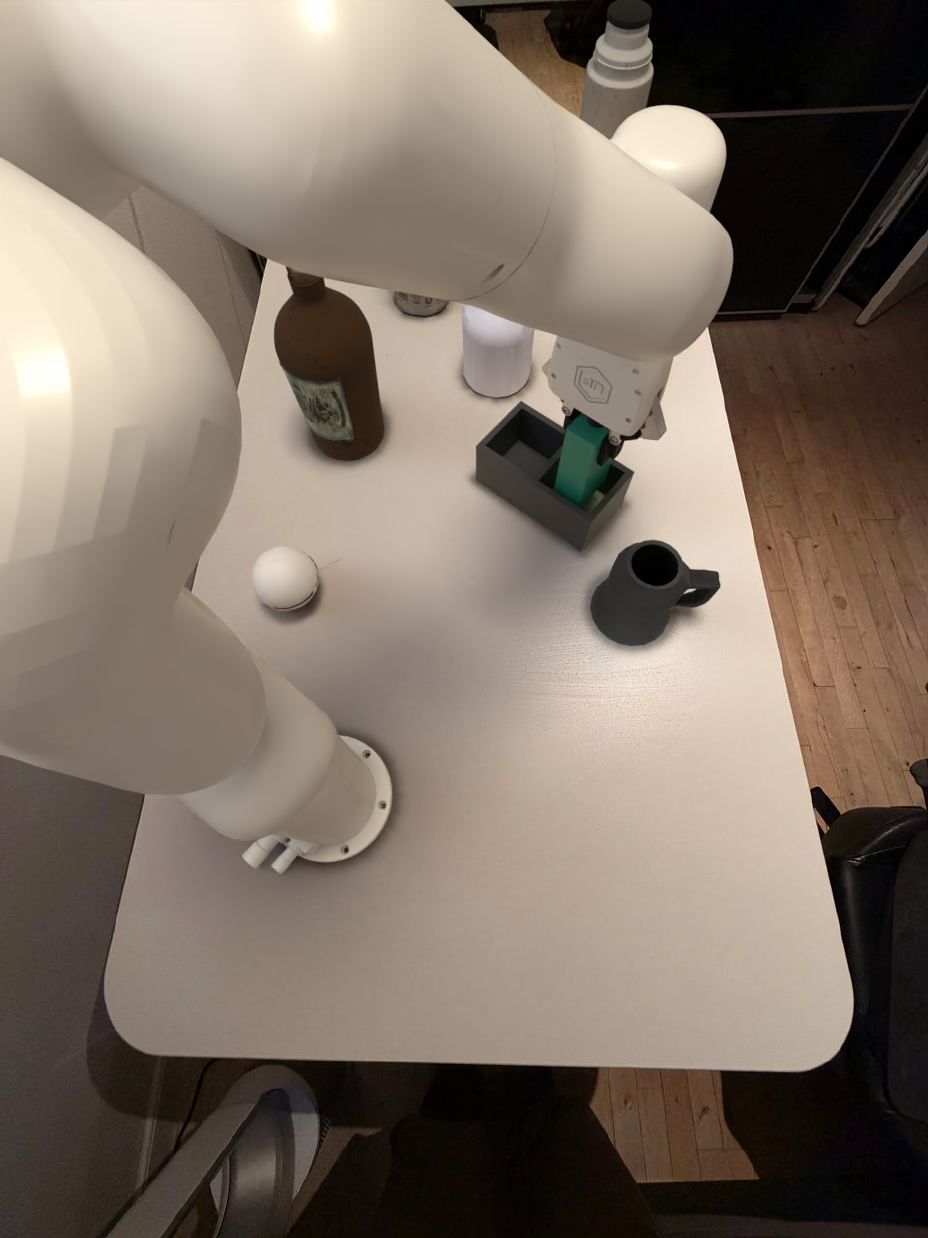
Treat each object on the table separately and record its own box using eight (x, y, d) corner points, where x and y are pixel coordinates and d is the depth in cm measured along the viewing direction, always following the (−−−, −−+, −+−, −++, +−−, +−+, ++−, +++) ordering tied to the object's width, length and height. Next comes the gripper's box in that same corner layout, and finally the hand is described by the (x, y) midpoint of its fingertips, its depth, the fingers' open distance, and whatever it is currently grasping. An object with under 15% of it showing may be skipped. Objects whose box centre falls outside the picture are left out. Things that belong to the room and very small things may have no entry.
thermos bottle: (613, 223, 98) (663, -13, 72) (617, 259, 95) (671, 27, 69) (562, 223, 98) (592, -12, 72) (564, 260, 95) (597, 28, 69)
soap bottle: (523, 403, 85) (541, 228, 62) (457, 393, 86) (450, 217, 63) (534, 353, 88) (554, 170, 66) (470, 344, 89) (468, 160, 67)
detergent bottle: (577, 512, 73) (598, 437, 61) (552, 495, 74) (567, 418, 62) (605, 480, 75) (631, 401, 63) (580, 464, 76) (601, 383, 63)
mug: (591, 644, 72) (611, 604, 61) (588, 572, 75) (607, 522, 65) (698, 648, 71) (736, 608, 61) (691, 575, 75) (726, 526, 65)
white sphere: (264, 626, 73) (243, 600, 67) (261, 569, 76) (240, 539, 69) (350, 612, 74) (338, 585, 67) (344, 556, 77) (331, 524, 70)
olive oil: (330, 390, 86) (277, 211, 63) (401, 412, 85) (374, 236, 62) (295, 451, 83) (225, 284, 60) (369, 474, 81) (327, 312, 58)
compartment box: (581, 552, 76) (591, 522, 70) (475, 479, 81) (475, 445, 74) (622, 504, 79) (634, 471, 73) (517, 436, 83) (520, 400, 77)
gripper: (516, 279, 51) (506, 428, 68) (693, 379, 47) (636, 512, 64) (571, 229, 54) (548, 385, 71) (745, 320, 49) (676, 463, 66)
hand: (590, 444), depth 67 cm, fingers closed on detergent bottle, 3 cm apart
